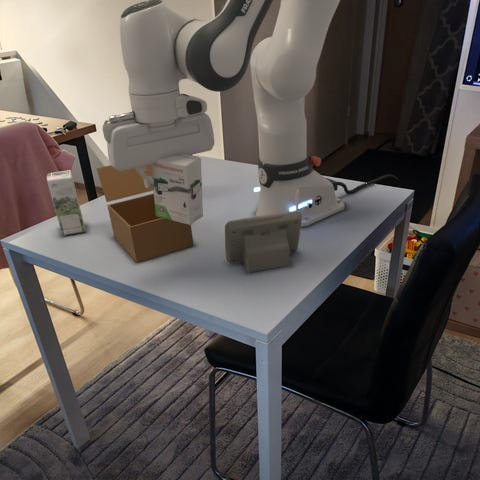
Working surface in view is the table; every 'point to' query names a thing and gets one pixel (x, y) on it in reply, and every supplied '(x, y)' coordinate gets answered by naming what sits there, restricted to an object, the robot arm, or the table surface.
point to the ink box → (178, 188)
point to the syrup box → (66, 202)
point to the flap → (122, 182)
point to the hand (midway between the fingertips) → (167, 182)
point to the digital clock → (263, 240)
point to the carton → (147, 229)
